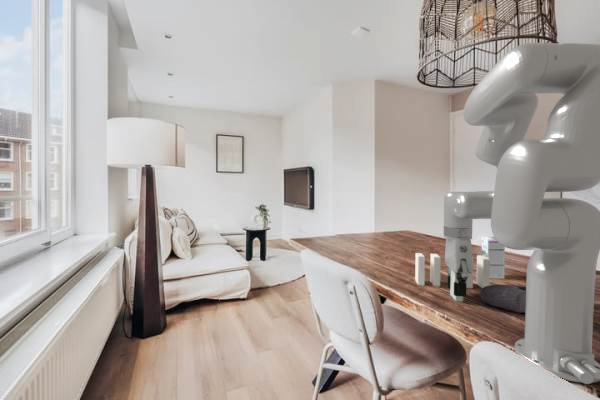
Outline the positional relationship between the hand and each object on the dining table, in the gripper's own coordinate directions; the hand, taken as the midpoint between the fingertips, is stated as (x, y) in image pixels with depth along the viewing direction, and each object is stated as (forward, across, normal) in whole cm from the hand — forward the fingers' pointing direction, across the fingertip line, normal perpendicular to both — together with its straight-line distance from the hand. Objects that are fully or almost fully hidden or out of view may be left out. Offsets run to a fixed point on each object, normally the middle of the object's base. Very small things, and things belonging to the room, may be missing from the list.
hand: (456, 291), depth 85 cm
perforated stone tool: (+2, -6, -12) cm, 14 cm away
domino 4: (+2, +12, -7) cm, 14 cm away
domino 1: (+2, +12, +8) cm, 15 cm away
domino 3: (+2, 0, 0) cm, 2 cm away
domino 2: (+2, +12, +3) cm, 13 cm away
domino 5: (+2, +12, -12) cm, 17 cm away
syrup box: (+2, +24, -20) cm, 31 cm away
